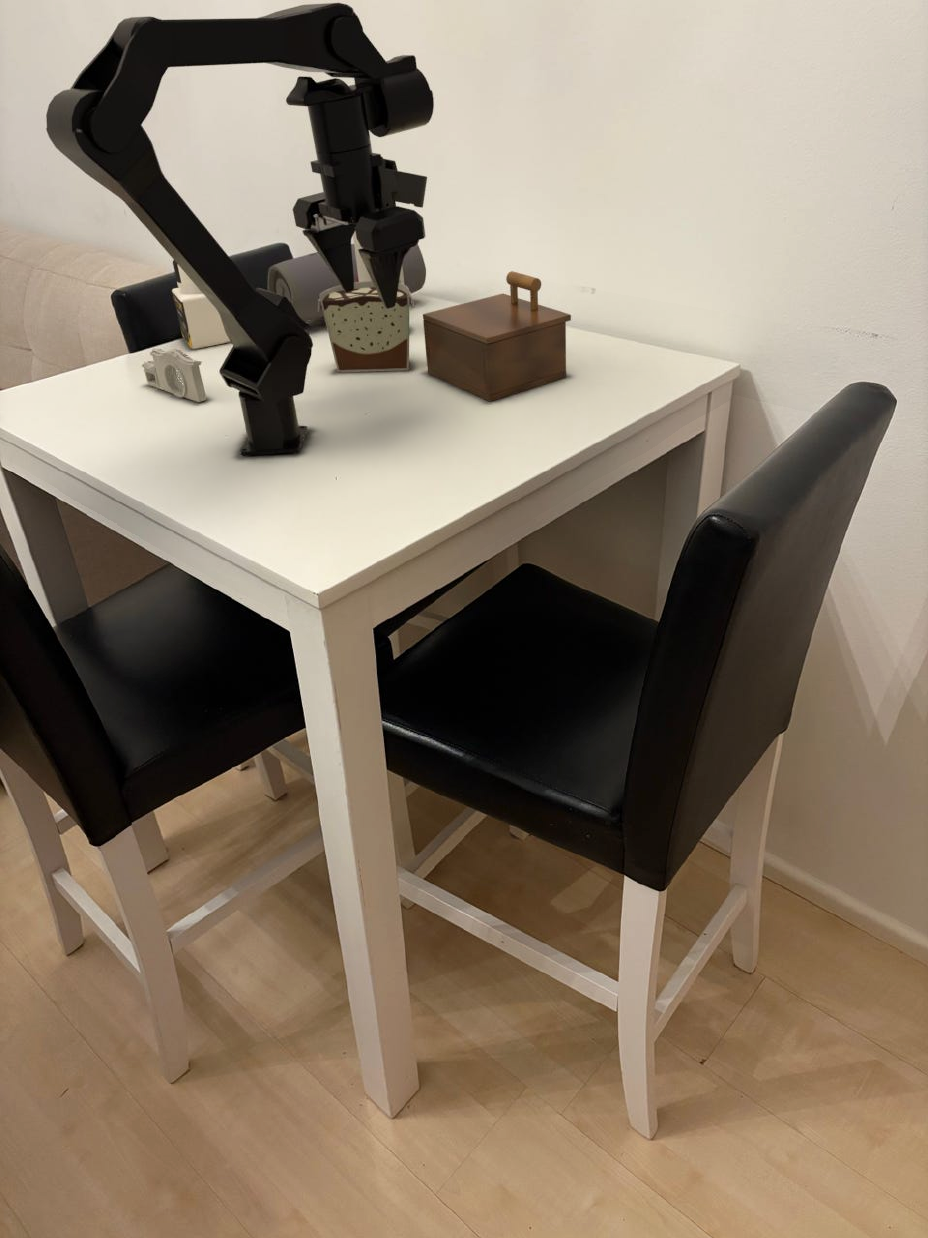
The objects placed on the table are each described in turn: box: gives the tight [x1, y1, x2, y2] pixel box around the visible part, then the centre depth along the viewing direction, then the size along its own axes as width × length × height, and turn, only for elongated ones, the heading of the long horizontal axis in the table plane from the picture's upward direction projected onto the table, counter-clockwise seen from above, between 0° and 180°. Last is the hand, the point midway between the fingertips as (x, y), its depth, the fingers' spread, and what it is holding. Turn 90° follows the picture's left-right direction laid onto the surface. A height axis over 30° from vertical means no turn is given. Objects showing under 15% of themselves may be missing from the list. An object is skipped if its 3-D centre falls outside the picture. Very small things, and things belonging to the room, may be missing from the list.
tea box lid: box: [422, 270, 572, 344], centre depth 116 cm, size 12×14×4 cm
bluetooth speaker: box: [267, 243, 427, 324], centre depth 145 cm, size 23×9×10 cm, turn 126°
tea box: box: [422, 320, 567, 402], centre depth 119 cm, size 12×14×7 cm
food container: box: [318, 281, 415, 373], centre depth 125 cm, size 12×6×10 cm, turn 84°
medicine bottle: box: [171, 259, 231, 350], centre depth 139 cm, size 7×7×12 cm
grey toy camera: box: [141, 347, 207, 403], centre depth 122 cm, size 12×2×6 cm, turn 48°
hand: (369, 298), depth 108 cm, fingers open, 9 cm apart
